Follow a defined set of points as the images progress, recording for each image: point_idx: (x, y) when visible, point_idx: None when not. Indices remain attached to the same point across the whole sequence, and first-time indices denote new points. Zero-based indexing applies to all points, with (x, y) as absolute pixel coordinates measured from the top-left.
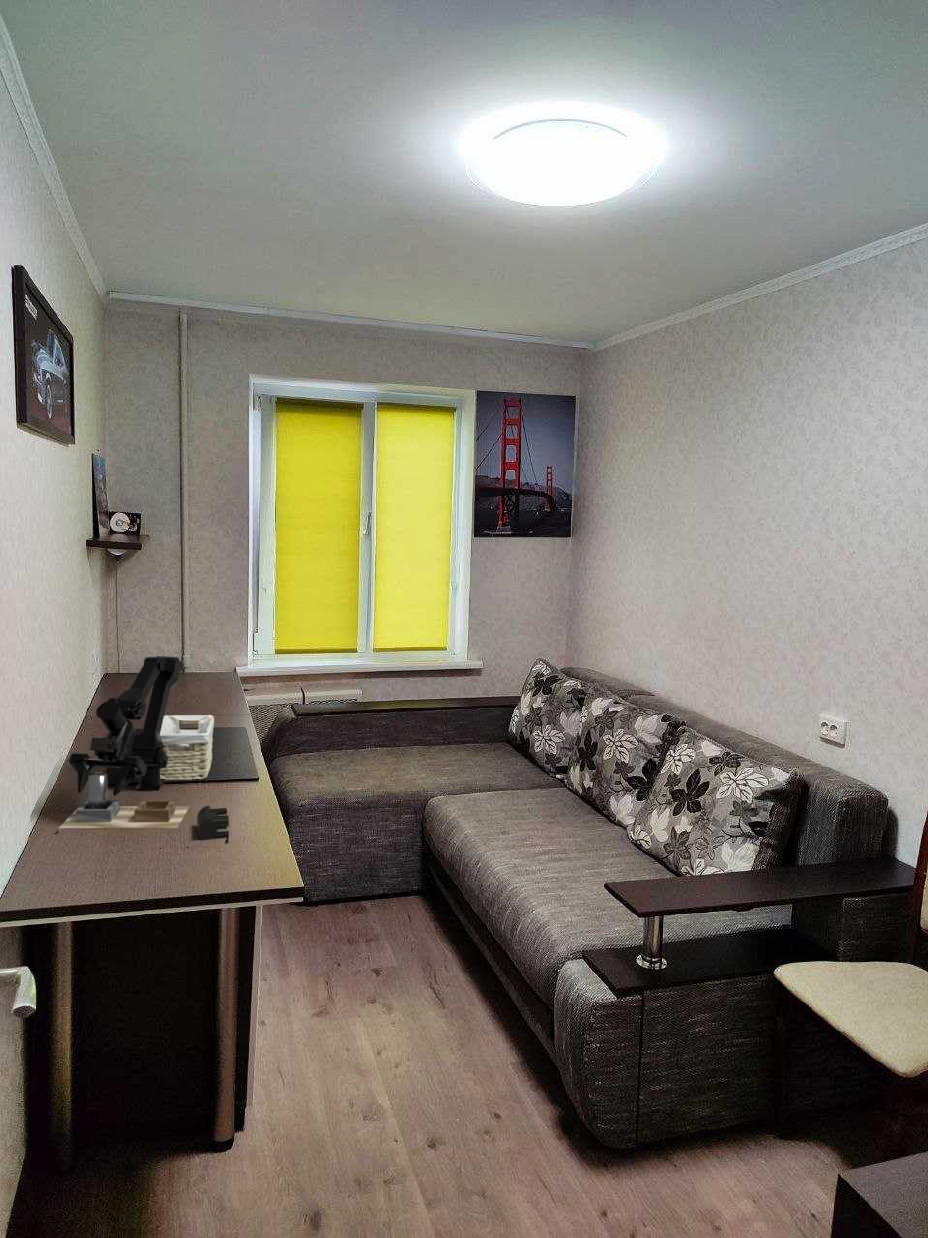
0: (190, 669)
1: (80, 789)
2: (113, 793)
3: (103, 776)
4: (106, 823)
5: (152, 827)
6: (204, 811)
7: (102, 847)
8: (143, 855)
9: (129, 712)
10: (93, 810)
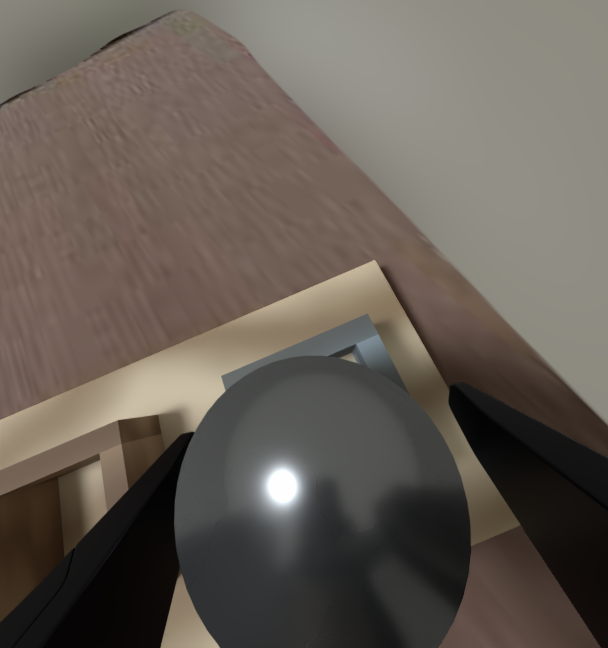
0: None
1: (464, 404)
2: (186, 433)
3: (190, 451)
4: (248, 362)
5: (75, 389)
6: None
7: (185, 244)
8: (65, 245)
9: None
10: (295, 347)
